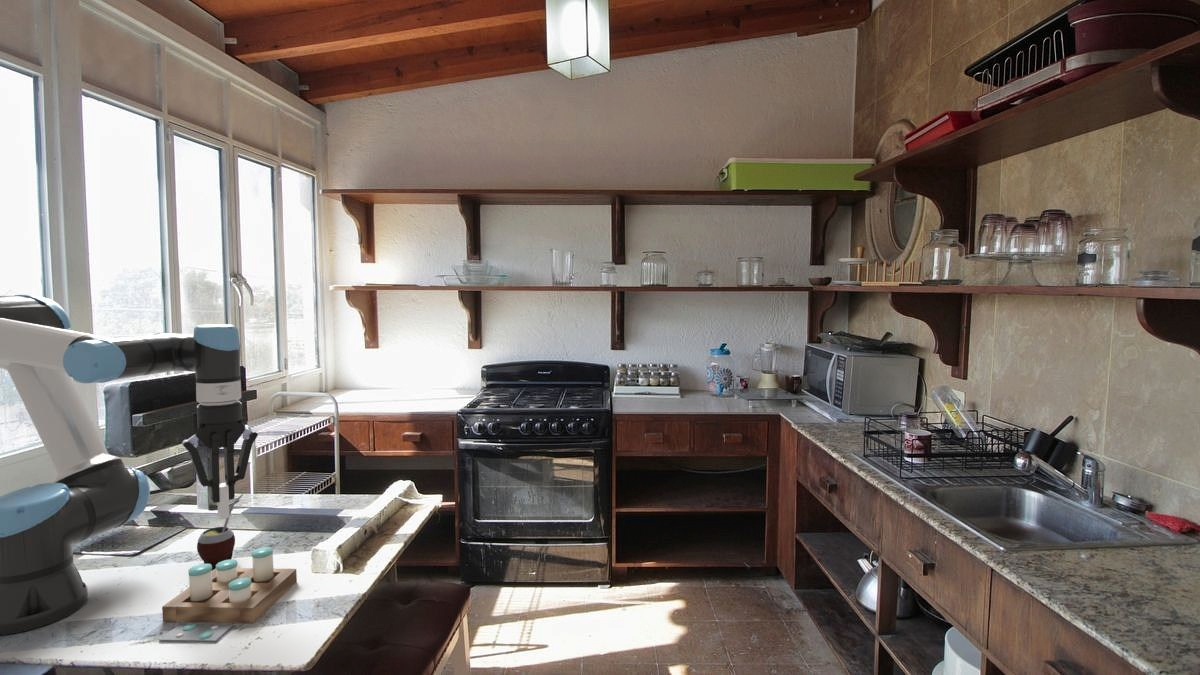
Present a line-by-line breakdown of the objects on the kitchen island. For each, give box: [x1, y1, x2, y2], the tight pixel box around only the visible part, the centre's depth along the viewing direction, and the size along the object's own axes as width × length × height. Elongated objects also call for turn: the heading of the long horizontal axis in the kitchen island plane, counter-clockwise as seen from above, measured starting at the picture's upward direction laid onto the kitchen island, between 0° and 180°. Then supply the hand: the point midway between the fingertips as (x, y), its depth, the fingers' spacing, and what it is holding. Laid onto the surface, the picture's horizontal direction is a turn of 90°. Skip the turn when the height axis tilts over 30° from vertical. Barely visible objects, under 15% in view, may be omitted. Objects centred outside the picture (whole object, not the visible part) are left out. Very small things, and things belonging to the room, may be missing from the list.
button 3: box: [228, 578, 251, 603], centre depth 110 cm, size 4×4×6 cm
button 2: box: [215, 558, 238, 583], centre depth 118 cm, size 4×4×6 cm
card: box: [158, 622, 235, 644], centre depth 103 cm, size 10×5×1 cm, turn 90°
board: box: [161, 567, 298, 624], centre depth 114 cm, size 17×15×3 cm
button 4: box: [251, 546, 274, 582], centre depth 118 cm, size 4×4×6 cm
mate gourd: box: [196, 493, 244, 571], centre depth 129 cm, size 8×8×15 cm
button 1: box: [188, 563, 213, 601], centre depth 110 cm, size 4×4×6 cm
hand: (223, 516), depth 117 cm, fingers closed
